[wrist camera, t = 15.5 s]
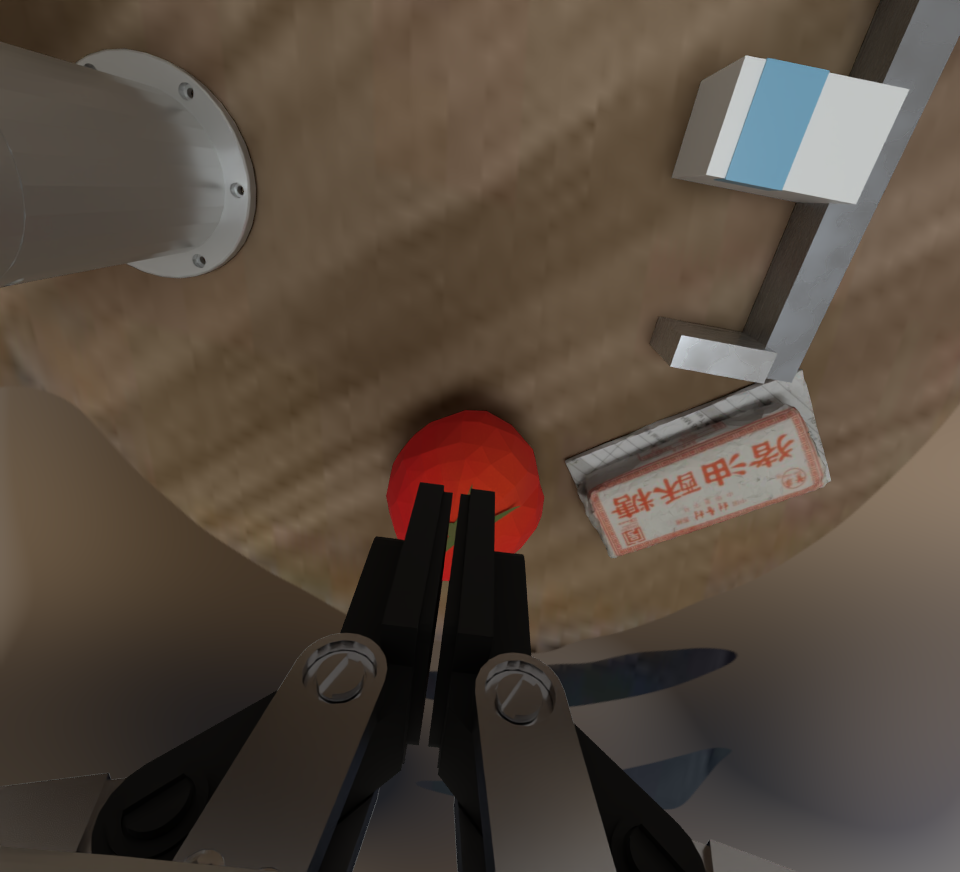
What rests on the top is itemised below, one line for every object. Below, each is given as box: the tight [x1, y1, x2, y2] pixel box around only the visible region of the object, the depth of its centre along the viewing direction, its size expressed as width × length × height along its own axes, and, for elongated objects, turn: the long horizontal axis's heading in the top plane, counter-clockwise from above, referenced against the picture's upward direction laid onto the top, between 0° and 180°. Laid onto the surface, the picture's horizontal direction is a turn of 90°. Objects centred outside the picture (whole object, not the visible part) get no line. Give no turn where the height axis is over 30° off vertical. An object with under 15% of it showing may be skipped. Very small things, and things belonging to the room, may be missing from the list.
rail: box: [650, 0, 960, 384], centre depth 27 cm, size 9×26×5 cm, turn 170°
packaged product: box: [565, 369, 831, 558], centre depth 38 cm, size 18×5×10 cm
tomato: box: [386, 410, 544, 581], centre depth 36 cm, size 11×13×10 cm
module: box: [672, 56, 909, 204], centre depth 27 cm, size 8×5×6 cm, turn 80°
